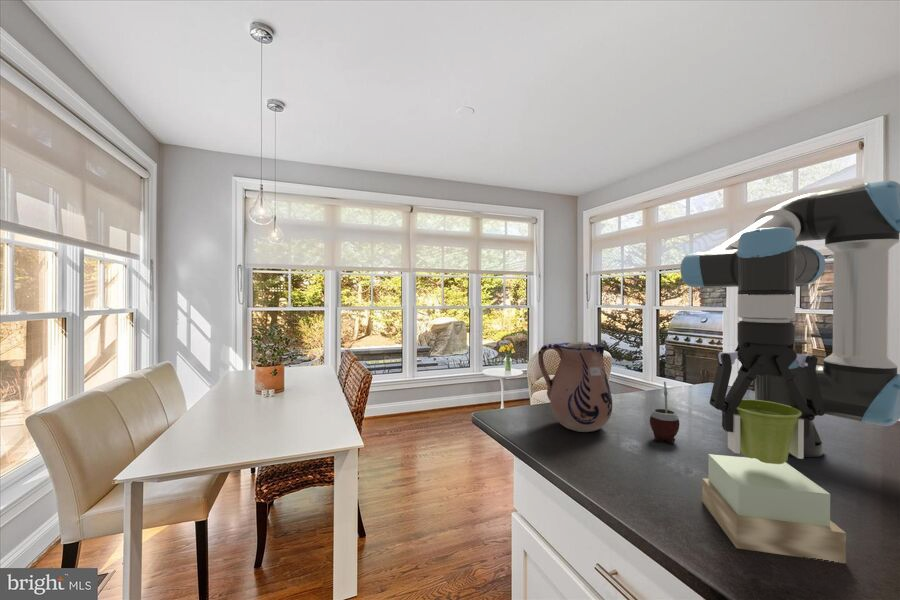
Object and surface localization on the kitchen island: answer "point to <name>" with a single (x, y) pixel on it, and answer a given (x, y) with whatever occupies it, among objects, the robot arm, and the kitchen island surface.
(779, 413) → the plant pot
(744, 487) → the upper block
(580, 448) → the kitchen island surface
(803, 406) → the robot arm
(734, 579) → the kitchen island surface
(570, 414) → the ceramic pitcher
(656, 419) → the mate gourd
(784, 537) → the lower block
